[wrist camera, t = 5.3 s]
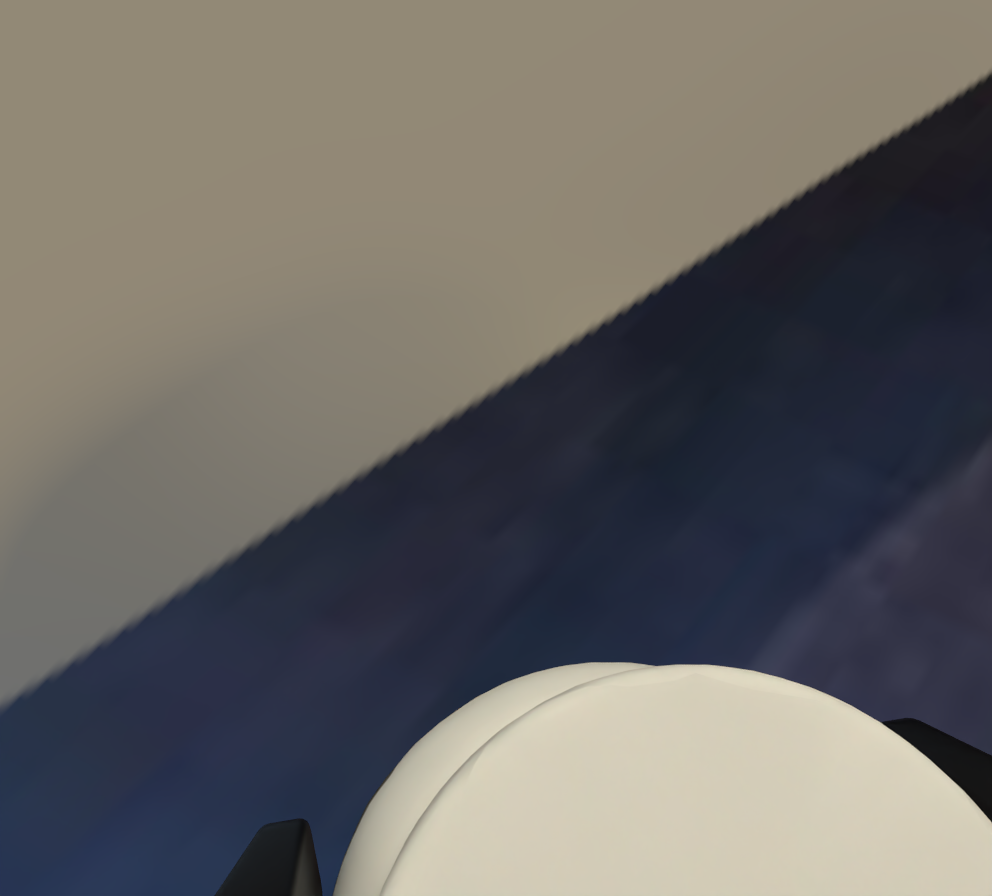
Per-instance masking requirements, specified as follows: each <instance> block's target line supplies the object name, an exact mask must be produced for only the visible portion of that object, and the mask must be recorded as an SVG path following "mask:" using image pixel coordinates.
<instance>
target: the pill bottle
mask: <svg viewBox="0 0 992 896" xmlns="http://www.w3.org/2000/svg"><path fill="white" fill-rule="evenodd" d="M333 896H992V822H991V821H990V820H989V819H988V818H987V816H986V815H985V814H984V813H983V812H982V811H981V809H980V808H979V807H978V806H977V805H976V804H975V803H974V802H973V801H972V799H971V798H970V797H969V796H968V795H967V794H966V793H965V792H964V791H963V790H962V789H961V788H960V787H959V786H958V785H957V784H956V783H955V782H954V781H953V780H952V779H950V778H949V777H948V776H947V775H946V774H945V773H944V772H943V771H942V770H941V769H940V768H938V767H937V766H936V765H935V764H934V763H933V762H932V761H931V760H930V759H928V758H927V757H926V756H925V755H923V754H922V753H921V752H920V751H919V750H917V749H916V748H915V747H914V746H912V745H911V744H910V743H909V742H907V741H906V740H905V739H903V738H902V737H900V736H899V735H898V734H896V733H895V732H893V731H892V730H890V729H889V728H887V727H886V726H885V725H883V724H882V723H880V722H878V721H877V720H875V719H873V718H871V717H870V716H868V715H866V714H865V713H863V712H861V711H859V710H858V709H856V708H854V707H853V706H851V705H849V704H847V703H845V702H843V701H840V700H838V699H836V698H834V697H832V696H830V695H827V694H825V693H822V692H820V691H818V690H815V689H813V688H811V687H808V686H804V685H801V684H798V683H795V682H792V681H789V680H785V679H782V678H779V677H775V676H771V675H767V674H763V673H759V672H755V671H750V670H744V669H738V668H731V667H723V666H714V665H668V666H651V665H644V664H636V663H584V664H575V665H567V666H560V667H556V668H552V669H547V670H543V671H539V672H535V673H532V674H529V675H526V676H523V677H520V678H517V679H514V680H512V681H509V682H506V683H504V684H502V685H500V686H498V687H496V688H494V689H492V690H490V691H488V692H486V693H484V694H482V695H480V696H478V697H476V698H475V699H473V700H472V701H470V702H469V703H467V704H466V705H464V706H463V707H461V708H460V709H458V710H457V711H455V712H454V713H453V714H451V715H450V716H449V717H447V718H446V719H444V720H443V721H442V722H440V723H439V724H438V725H437V726H435V727H434V728H433V729H432V730H431V731H430V732H429V733H427V734H426V735H425V736H424V737H423V738H422V739H420V740H419V741H418V742H417V743H416V744H415V745H413V747H412V748H411V749H410V750H409V751H408V753H407V754H406V755H405V756H404V757H403V759H402V760H401V761H400V762H399V763H398V765H397V766H396V767H395V768H394V769H393V770H392V772H391V773H390V774H389V775H388V776H387V777H386V779H385V780H384V781H383V783H382V784H381V786H380V787H379V788H378V790H377V791H376V793H375V794H374V795H373V797H372V798H371V800H370V801H369V802H368V804H367V806H366V808H365V810H364V812H363V814H362V816H361V819H360V821H359V823H358V825H357V828H356V830H355V832H354V835H353V837H352V839H351V842H350V844H349V846H348V849H347V851H346V854H345V856H344V859H343V862H342V865H341V868H340V871H339V875H338V878H337V881H336V885H335V888H334V892H333Z"/></svg>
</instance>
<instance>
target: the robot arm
mask: <svg viewBox="0 0 992 896" xmlns="http://www.w3.org/2000/svg"><path fill="white" fill-rule="evenodd" d="M880 723H882V724H883V725H885V726H886V727H887V728H889V729H890V730H892V731H893V732H895V733H896V734H898V735H899V736H900V737H902V738H903V739H905V740H906V741H907V742H909V743H910V744H911V745H912V746H914V747H915V748H916V749H917V750H919V751H920V752H921V753H922V754H923V755H925V756H926V757H927V758H928V759H930V760H931V761H932V762H933V763H934V764H935V765H936V766H937V767H938V768H940V769H941V770H942V771H943V772H944V773H945V774H946V775H947V776H948V777H949V778H950V779H952V780H953V781H954V782H955V783H956V784H957V785H958V786H959V787H960V788H961V789H962V790H963V791H964V792H965V793H966V794H967V795H968V796H969V797H970V798H971V799H972V801H973V802H974V803H975V804H976V805H977V806H978V807H979V808H980V809H981V811H982V812H983V813H984V814H985V815H986V816H987V818H988V819H989V820H990V821H991V822H992V756H991V755H989V754H987V753H985V752H983V751H981V750H979V749H977V748H975V747H973V746H971V745H969V744H966V743H964V742H962V741H960V740H958V739H956V738H954V737H952V736H950V735H948V734H946V733H944V732H942V731H940V730H938V729H936V728H934V727H932V726H930V725H928V724H926V723H923V722H921V721H919V720H916V719H913V718H903V719H897V720H891V721H885V722H880ZM215 896H322V887H321V880H320V875H319V870H318V864H317V859H316V854H315V849H314V844H313V839H312V834H311V829H310V826H309V824H308V822H307V821H306V820H304V819H294V820H288V821H282V822H276V823H270V824H266V825H264V826H263V827H262V828H261V829H260V830H259V831H258V832H257V834H256V835H255V837H254V838H253V839H252V841H251V842H250V844H249V845H248V847H247V848H246V850H245V851H244V853H243V854H242V856H241V857H240V859H239V860H238V862H237V863H236V865H235V866H234V868H233V869H232V871H231V872H230V874H229V875H228V877H227V878H226V880H225V881H224V883H223V884H222V886H221V887H220V889H219V890H218V892H217V893H216V895H215Z"/></svg>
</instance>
